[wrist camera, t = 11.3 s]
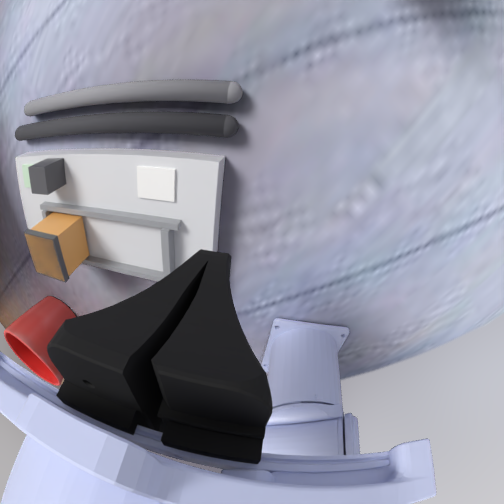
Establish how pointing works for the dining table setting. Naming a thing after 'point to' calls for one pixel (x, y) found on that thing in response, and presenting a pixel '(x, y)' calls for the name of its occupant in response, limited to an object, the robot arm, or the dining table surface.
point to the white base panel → (129, 203)
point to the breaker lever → (57, 245)
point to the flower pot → (38, 336)
